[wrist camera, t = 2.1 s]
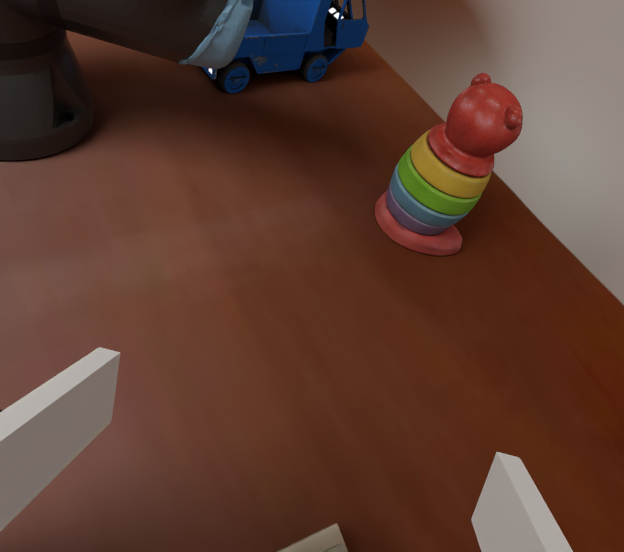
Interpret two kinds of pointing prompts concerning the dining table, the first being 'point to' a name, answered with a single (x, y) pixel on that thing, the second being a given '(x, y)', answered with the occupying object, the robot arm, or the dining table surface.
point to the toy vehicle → (292, 40)
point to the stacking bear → (449, 169)
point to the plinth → (320, 542)
